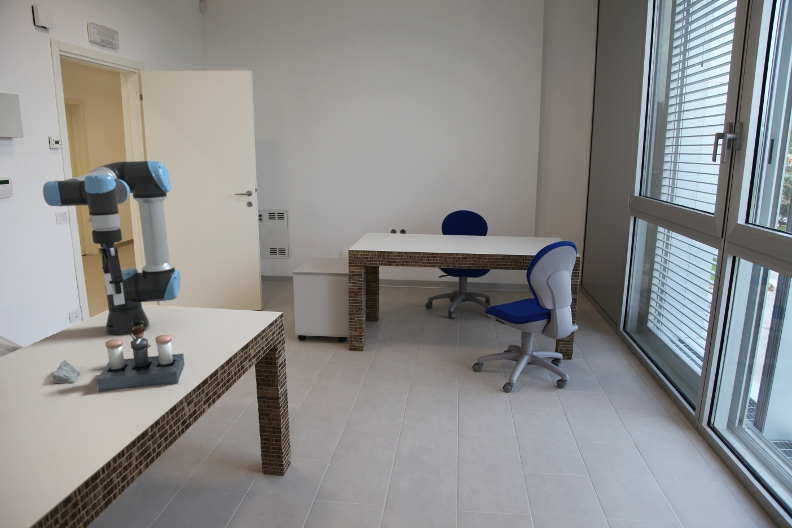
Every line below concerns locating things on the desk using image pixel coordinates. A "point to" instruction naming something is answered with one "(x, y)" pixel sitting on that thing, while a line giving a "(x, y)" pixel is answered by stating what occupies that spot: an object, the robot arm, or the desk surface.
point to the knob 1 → (115, 353)
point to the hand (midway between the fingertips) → (115, 299)
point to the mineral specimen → (65, 373)
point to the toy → (138, 332)
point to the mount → (141, 374)
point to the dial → (140, 352)
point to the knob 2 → (164, 349)
